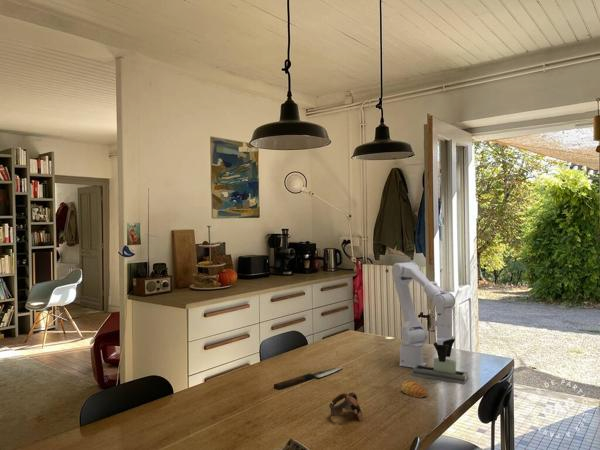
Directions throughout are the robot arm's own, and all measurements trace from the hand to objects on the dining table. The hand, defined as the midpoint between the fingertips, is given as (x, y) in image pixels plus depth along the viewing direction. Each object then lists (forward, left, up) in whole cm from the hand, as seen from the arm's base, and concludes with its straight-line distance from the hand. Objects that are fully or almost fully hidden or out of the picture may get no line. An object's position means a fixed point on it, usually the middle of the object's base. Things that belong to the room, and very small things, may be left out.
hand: (444, 359), depth 179 cm
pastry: (-5, -22, -8) cm, 24 cm away
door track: (-2, 0, -7) cm, 8 cm away
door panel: (0, 0, -6) cm, 6 cm away
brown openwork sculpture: (-17, -52, -8) cm, 55 cm away
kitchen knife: (-44, -27, -8) cm, 52 cm away
